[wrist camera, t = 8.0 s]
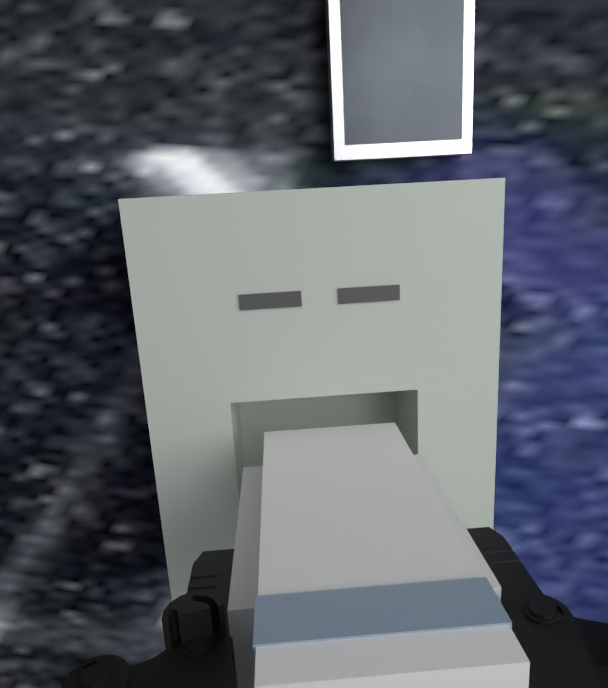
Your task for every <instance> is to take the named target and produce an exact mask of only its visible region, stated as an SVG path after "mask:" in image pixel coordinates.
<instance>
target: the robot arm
mask: <svg viewBox="0 0 608 688" xmlns="http://www.w3.org/2000/svg"><path fill="white" fill-rule="evenodd" d="M414 457H415V459H416V460H417V462H418V464H419V466H420V468H421V469H422V471H423V473H424V475H425V476H426V478H427V480H428V482H429V484H430V485H431V487H432V489H433V491H434V492H435V494H436V496H437V498H438V499H439V501H440V503H441V505H442V507H443V508H444V510H445V512H446V514H447V515H448V517H449V519H450V521H451V523H452V524H453V526H454V528H455V530H456V531H457V533H458V535H459V537H460V538H461V540H462V542H463V544H464V546H465V547H466V549H467V551H468V553H469V554H470V556H471V558H472V560H473V562H474V563H475V565H476V567H477V569H478V570H479V572H480V574H481V576H482V577H486V578H487V579H488V581H489V583H490V585H491V586H492V588H493V590H494V591H495V593H496V595H497V597H498V598H499V600H500V602H501V604H502V605H503V607H504V609H505V611H506V612H507V614H508V616H509V618H510V619H511V621H512V631H513V632H514V634H515V636H516V638H517V640H518V641H519V643H520V645H521V647H522V648H523V650H524V652H525V654H526V656H527V657H528V659H529V661H530V672H529V688H608V624H607V623H601V622H594V621H588V620H583V619H579V618H576V617H573V615H572V614H571V612H570V611H569V610H568V608H567V607H566V606H565V605H563V604H562V603H561V602H559V601H558V600H556V599H554V598H551V597H549V596H547V595H544V594H543V593H542V592H541V590H540V589H539V587H538V586H537V584H536V583H535V582H534V580H533V579H532V577H531V576H530V574H529V573H528V571H527V570H526V569H525V567H524V566H523V564H522V563H521V562H519V559H518V557H517V556H516V554H515V553H514V552H512V548H511V547H510V546H509V544H508V543H507V541H506V540H505V538H504V537H503V536H501V535H500V534H499V533H497V532H496V531H494V530H493V529H491V528H490V527H480V528H468V529H466V527H465V525H464V524H463V522H462V520H461V519H460V517H459V515H458V514H457V512H456V510H455V509H454V507H453V505H452V504H451V502H450V500H449V499H448V497H447V495H446V494H445V492H444V490H443V489H442V487H441V485H440V484H439V482H438V480H437V479H436V477H435V475H434V474H433V472H432V470H431V469H430V467H429V465H428V464H427V462H426V460H425V459H424V457H423V455H422V454H415V455H414ZM262 479H263V466H255V467H243V476H242V485H241V494H240V503H239V512H238V521H237V530H236V539H235V548H234V549H225V550H213V551H203V552H202V553H201V555H200V556H199V557H198V558H197V559H196V561H195V562H194V563H193V566H192V571H191V575H190V580H189V584H188V591H187V593H186V594H184V595H181V596H179V597H178V598H176V599H175V600H173V601H172V602H170V603H169V605H168V606H167V607H166V609H165V610H164V612H163V616H162V625H163V632H164V639H165V646H166V650H165V651H164V652H162V653H161V654H159V655H158V656H156V657H154V658H152V659H150V660H147V661H145V662H142V663H139V664H136V665H134V666H131V667H128V665H127V663H126V661H125V660H124V659H122V658H120V657H118V656H115V655H102V656H97V657H93V658H91V659H89V660H87V661H85V662H83V663H81V664H80V665H79V666H77V667H76V668H75V669H74V670H73V671H71V672H70V674H69V675H68V676H67V678H66V679H65V681H64V682H63V684H62V686H61V688H254V683H255V664H254V653H253V629H254V607H255V596H258V581H259V555H260V530H261V504H262Z"/></svg>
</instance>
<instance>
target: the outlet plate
mask: <svg viewBox="0 0 608 688" xmlns="http://www.w3.org/2000/svg"><path fill="white" fill-rule="evenodd" d="M504 199H505V178H493V179H475V180H456V181H438V182H420V183H402V184H384V185H366V186H347V187H329V188H311V189H293V190H275V191H257V192H238V193H220V194H202V195H184V196H166V197H148V198H130V199H118V202H119V210H120V217H121V225H122V232H123V240H124V247H125V255H126V262H127V269H128V277H129V284H130V292H131V299H132V307H133V314H134V322H135V329H136V337H137V344H138V352H139V359H140V367H141V374H142V382H143V389H144V397H145V404H146V412H147V419H148V427H149V434H150V442H151V449H152V457H153V464H154V471H155V479H156V486H157V494H158V501H159V509H160V516H161V524H162V531H163V539H164V546H165V554H166V561H167V569H168V576H169V584H170V591H171V599H172V601H173V600H175V599H176V598H178V597H179V596H181V595H184V594H186V593H187V591H188V584H189V580H190V575H191V571H192V566H193V563H194V562H195V561H196V559H197V558H198V557H199V556H200V555H201V553H202V552H203V551H213V550H225V549H234V548H235V539H236V530H237V521H238V512H239V503H240V494H241V485H242V476H243V467H255V466H263V453H264V432H271V431H284V430H298V429H312V428H326V427H340V426H353V425H367V424H381V423H396V425H397V427H398V429H399V430H400V432H401V434H402V436H403V437H404V439H405V441H406V443H407V445H408V446H409V448H410V450H411V452H412V453H413V455H415V454H422V455H423V457H424V459H425V460H426V462H427V464H428V465H429V467H430V469H431V470H432V472H433V474H434V475H435V477H436V479H437V480H438V482H439V484H440V485H441V487H442V489H443V490H444V492H445V494H446V495H447V497H448V499H449V500H450V502H451V504H452V505H453V507H454V509H455V510H456V512H457V514H458V515H459V517H460V519H461V520H462V522H463V524H464V525H465V527H466V529H468V528H480V527H490V528H491V529H493V519H494V490H495V461H496V432H497V403H498V374H499V345H500V316H501V287H502V258H503V229H504Z"/></svg>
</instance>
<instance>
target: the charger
mask: <svg viewBox="0 0 608 688" xmlns="http://www.w3.org/2000/svg"><path fill="white" fill-rule="evenodd" d="M253 653H254V664H255V683H254V688H529V672H530V661H529V659H528V657H527V656H526V654H525V652H524V650H523V648H522V647H521V645H520V643H519V641H518V640H517V638H516V636H515V634H514V632H513V631H512V621H511V619H510V618H509V616H508V614H507V612H506V611H505V609H504V607H503V605H502V604H501V602H500V600H499V598H498V597H497V595H496V593H495V591H494V590H493V588H492V586H491V585H490V583H489V581H488V579H487V578H486V577H482V576H481V574H480V572H479V570H478V569H477V567H476V565H475V563H474V562H473V560H472V558H471V556H470V554H469V553H468V551H467V549H466V547H465V546H464V544H463V542H462V540H461V538H460V537H459V535H458V533H457V531H456V530H455V528H454V526H453V524H452V523H451V521H450V519H449V517H448V515H447V514H446V512H445V510H444V508H443V507H442V505H441V503H440V501H439V499H438V498H437V496H436V494H435V492H434V491H433V489H432V487H431V485H430V484H429V482H428V480H427V478H426V476H425V475H424V473H423V471H422V469H421V468H420V466H419V464H418V462H417V460H416V459H415V457H414V455H413V453H412V452H411V450H410V448H409V446H408V445H407V443H406V441H405V439H404V437H403V436H402V434H401V432H400V430H399V429H398V427H397V425H396V423H381V424H367V425H353V426H340V427H326V428H312V429H298V430H284V431H271V432H264V453H263V479H262V504H261V530H260V555H259V581H258V596H255V607H254V629H253Z"/></svg>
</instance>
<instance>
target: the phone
mask: <svg viewBox="0 0 608 688" xmlns="http://www.w3.org/2000/svg"><path fill="white" fill-rule="evenodd" d="M325 12H326V36H327V61H328V86H329V111H330V136H331V161H332V163H335V162H354V161H373V160H392V159H411V158H430V157H448V156H463V155H467V154H471V153H472V121H473V71H474V21H475V0H325Z"/></svg>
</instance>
